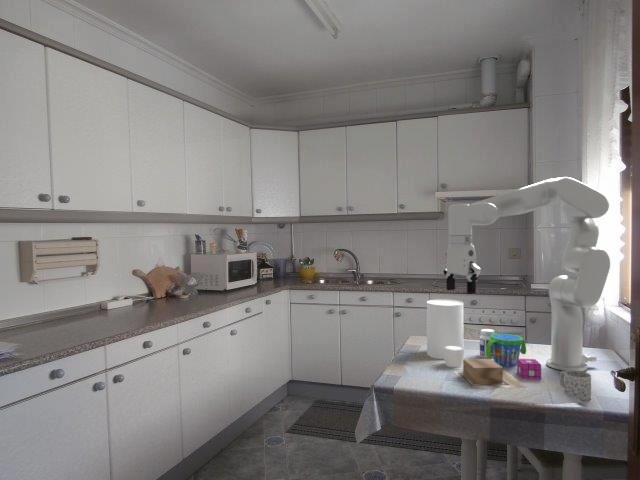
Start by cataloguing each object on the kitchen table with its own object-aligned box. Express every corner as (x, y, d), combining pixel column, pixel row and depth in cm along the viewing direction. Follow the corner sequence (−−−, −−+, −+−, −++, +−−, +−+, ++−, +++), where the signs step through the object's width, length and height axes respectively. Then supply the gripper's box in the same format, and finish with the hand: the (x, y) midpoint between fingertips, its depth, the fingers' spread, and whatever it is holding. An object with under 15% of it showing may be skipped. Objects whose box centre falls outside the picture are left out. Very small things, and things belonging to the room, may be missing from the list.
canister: (463, 360, 166) (463, 306, 166) (425, 358, 170) (425, 304, 169) (463, 350, 179) (463, 300, 179) (427, 348, 183) (427, 298, 182)
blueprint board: (503, 372, 152) (503, 369, 152) (527, 390, 136) (527, 386, 136) (453, 374, 152) (453, 370, 152) (471, 391, 136) (471, 387, 136)
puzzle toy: (535, 376, 149) (535, 359, 149) (541, 382, 143) (541, 364, 143) (517, 375, 150) (517, 358, 150) (522, 381, 144) (522, 363, 144)
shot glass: (465, 371, 155) (465, 350, 154) (444, 370, 156) (444, 349, 156) (463, 365, 161) (463, 345, 161) (443, 364, 163) (443, 344, 163)
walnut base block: (490, 373, 149) (490, 358, 148) (502, 383, 140) (502, 367, 139) (463, 374, 148) (463, 359, 148) (473, 384, 139) (473, 368, 139)
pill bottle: (497, 355, 172) (497, 329, 172) (494, 359, 168) (494, 332, 167) (481, 353, 175) (481, 327, 175) (478, 357, 171) (478, 330, 170)
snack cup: (516, 359, 167) (516, 331, 167) (535, 368, 157) (535, 338, 157) (477, 362, 164) (477, 334, 164) (495, 371, 154) (495, 341, 153)
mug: (596, 400, 129) (596, 376, 128) (576, 402, 127) (576, 378, 127) (570, 387, 138) (570, 366, 138) (551, 389, 137) (551, 367, 137)
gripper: (488, 241, 146) (488, 294, 147) (451, 239, 162) (451, 287, 162) (470, 241, 143) (471, 296, 144) (434, 240, 159) (435, 289, 159)
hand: (460, 291), depth 153 cm, fingers open, 9 cm apart
